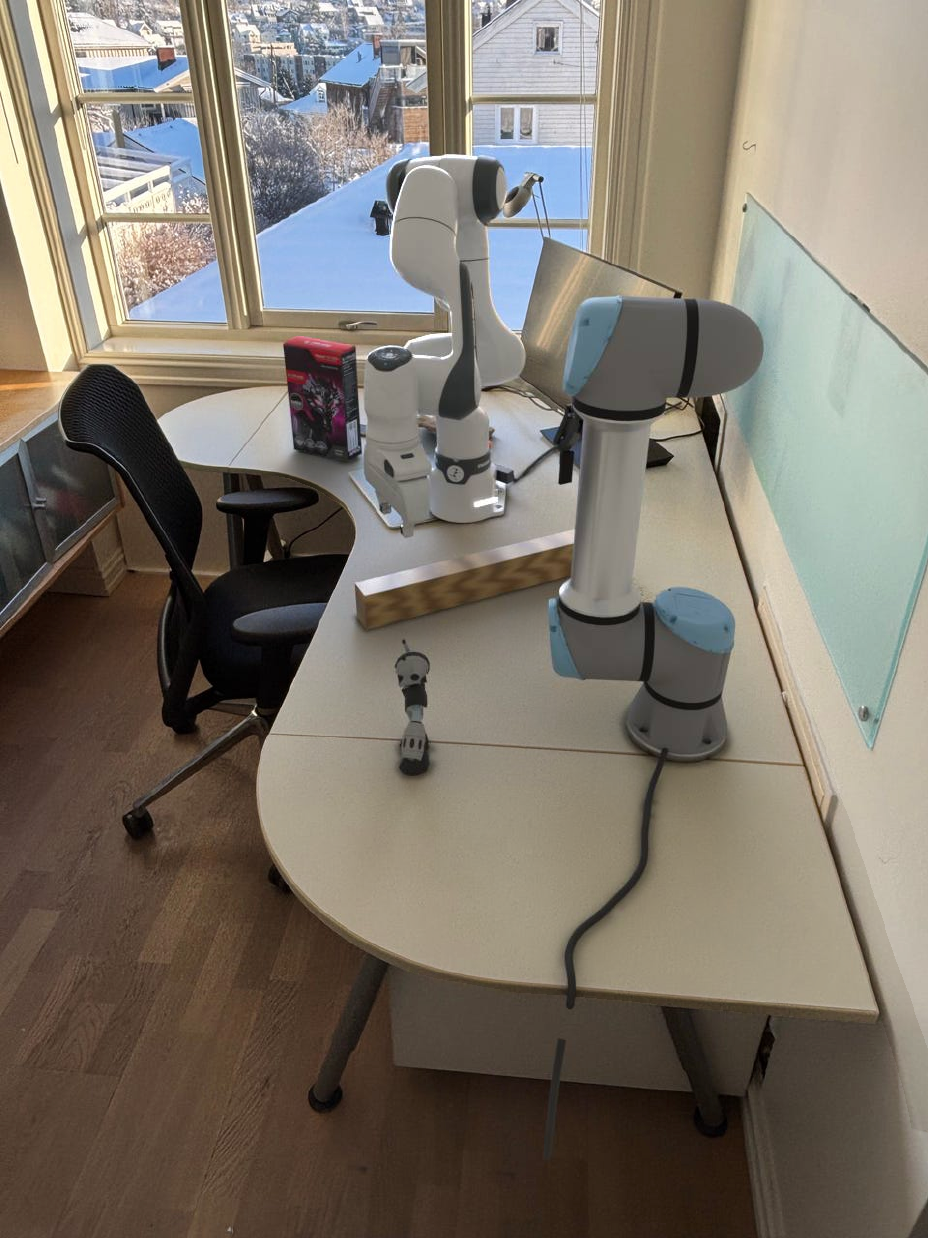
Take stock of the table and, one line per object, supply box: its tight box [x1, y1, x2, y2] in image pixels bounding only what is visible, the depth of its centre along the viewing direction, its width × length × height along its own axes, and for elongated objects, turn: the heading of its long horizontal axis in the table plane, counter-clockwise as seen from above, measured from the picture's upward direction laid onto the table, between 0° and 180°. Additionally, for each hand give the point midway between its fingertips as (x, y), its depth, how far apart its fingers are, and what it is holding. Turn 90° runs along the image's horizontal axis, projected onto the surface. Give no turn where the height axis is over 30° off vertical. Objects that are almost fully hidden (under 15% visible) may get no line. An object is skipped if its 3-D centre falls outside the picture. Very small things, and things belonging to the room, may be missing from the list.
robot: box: [394, 638, 431, 776], centre depth 132 cm, size 20×5×20 cm, turn 3°
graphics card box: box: [282, 335, 363, 463], centre depth 222 cm, size 17×7×27 cm, turn 62°
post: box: [354, 528, 575, 631], centre depth 175 cm, size 54×5×7 cm, turn 117°
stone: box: [417, 415, 496, 439], centre depth 236 cm, size 21×15×6 cm
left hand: (396, 523), depth 160 cm, fingers open, 8 cm apart
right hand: (583, 497), depth 176 cm, fingers open, 13 cm apart
